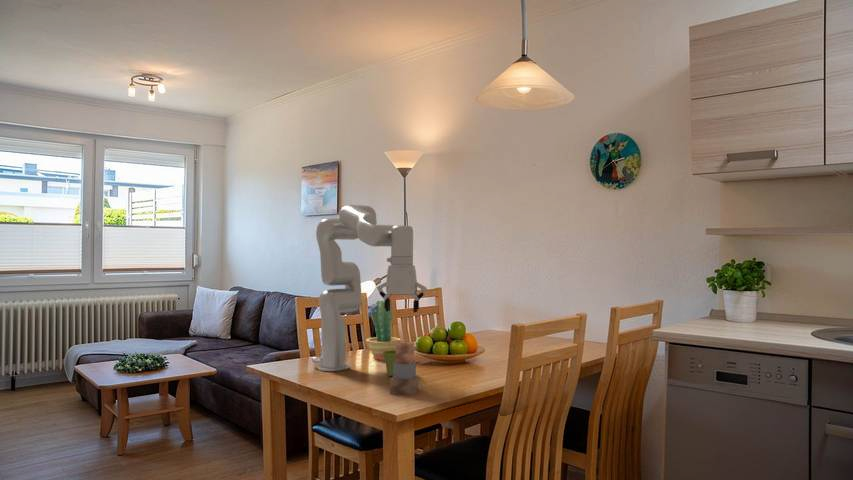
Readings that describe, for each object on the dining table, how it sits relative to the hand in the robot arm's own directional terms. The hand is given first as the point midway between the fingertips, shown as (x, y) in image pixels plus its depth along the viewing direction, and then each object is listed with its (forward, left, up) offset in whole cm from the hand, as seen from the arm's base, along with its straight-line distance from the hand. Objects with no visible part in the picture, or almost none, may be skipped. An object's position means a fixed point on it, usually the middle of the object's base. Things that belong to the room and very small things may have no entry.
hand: (401, 311), depth 200 cm
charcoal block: (+2, -3, -22) cm, 22 cm away
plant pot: (-7, +21, -27) cm, 35 cm away
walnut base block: (+2, -3, -27) cm, 27 cm away
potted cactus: (-20, +53, -27) cm, 63 cm away
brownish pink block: (+2, -2, -17) cm, 17 cm away
